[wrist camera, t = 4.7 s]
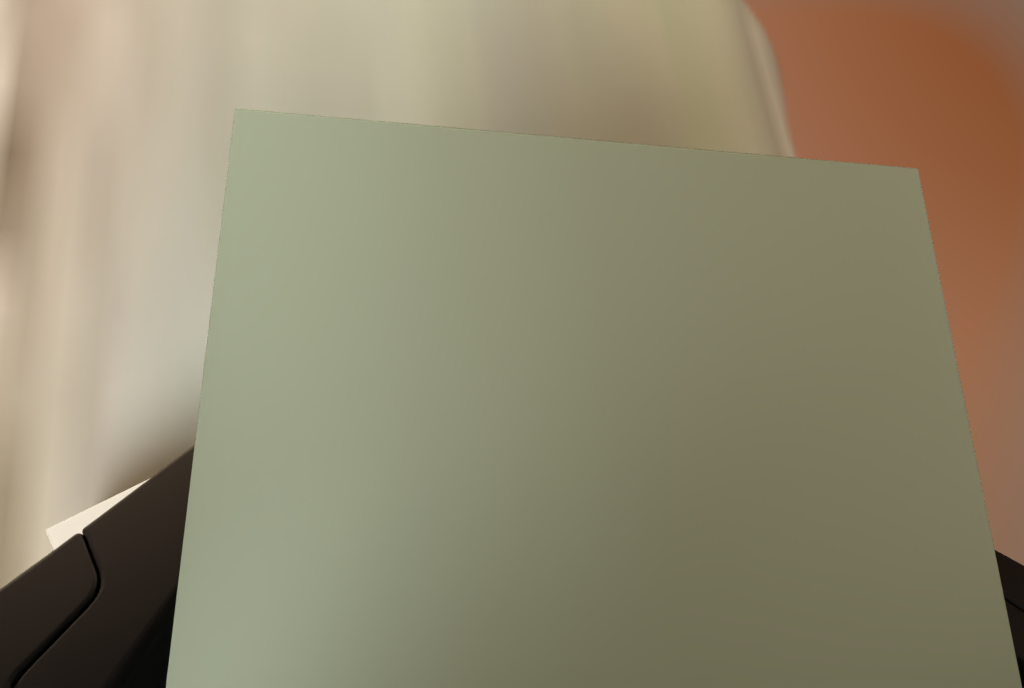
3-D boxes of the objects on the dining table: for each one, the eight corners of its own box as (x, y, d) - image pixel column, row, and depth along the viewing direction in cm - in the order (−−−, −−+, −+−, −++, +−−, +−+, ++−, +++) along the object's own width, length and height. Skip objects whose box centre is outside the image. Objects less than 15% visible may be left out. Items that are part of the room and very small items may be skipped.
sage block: (587, 643, 13) (1078, 956, 4) (335, 654, 12) (115, 1092, 3) (577, 401, 14) (916, 168, 5) (349, 397, 14) (235, 107, 4)
